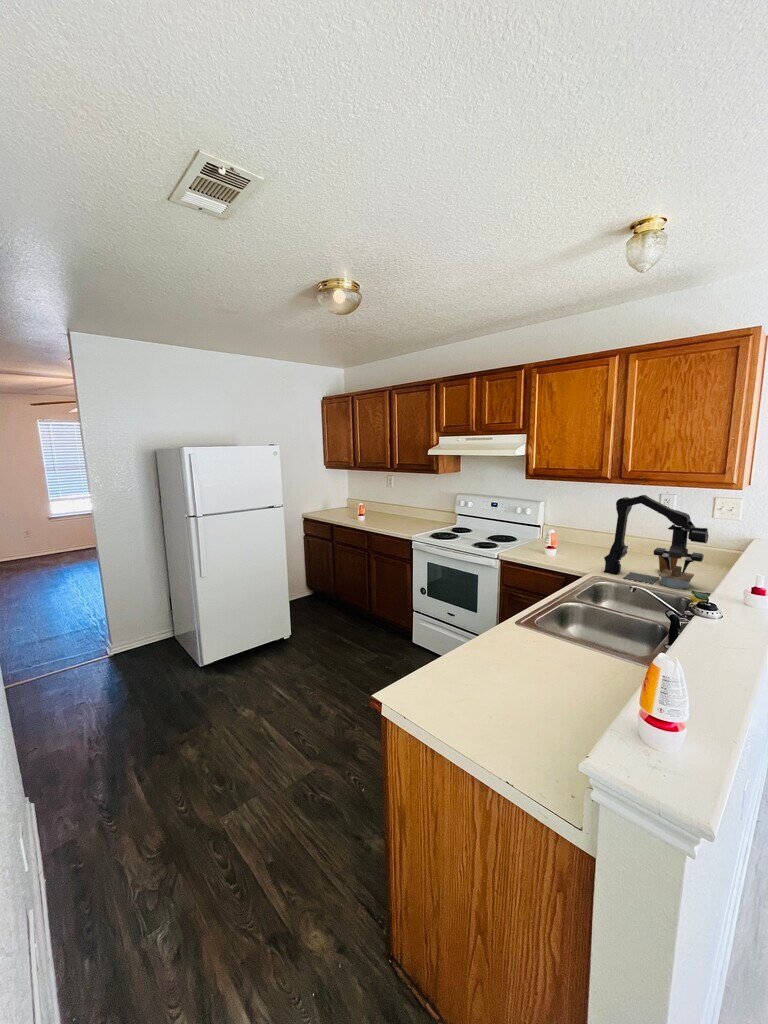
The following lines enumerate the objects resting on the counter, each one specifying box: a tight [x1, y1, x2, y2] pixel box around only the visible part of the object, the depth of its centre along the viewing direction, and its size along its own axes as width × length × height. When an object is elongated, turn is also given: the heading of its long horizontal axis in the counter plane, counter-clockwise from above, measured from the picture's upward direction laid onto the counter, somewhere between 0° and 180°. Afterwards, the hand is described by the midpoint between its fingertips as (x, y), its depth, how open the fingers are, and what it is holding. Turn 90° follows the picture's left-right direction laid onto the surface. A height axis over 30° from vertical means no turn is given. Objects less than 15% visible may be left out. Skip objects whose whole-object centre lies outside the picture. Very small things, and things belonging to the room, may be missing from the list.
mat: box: [622, 571, 661, 585], centre depth 208 cm, size 13×13×1 cm
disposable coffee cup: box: [658, 548, 679, 573], centre depth 216 cm, size 10×10×12 cm
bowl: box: [660, 577, 692, 589], centre depth 198 cm, size 11×11×4 cm
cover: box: [658, 565, 695, 583], centre depth 197 cm, size 12×12×4 cm
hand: (676, 572), depth 197 cm, fingers open, 5 cm apart
